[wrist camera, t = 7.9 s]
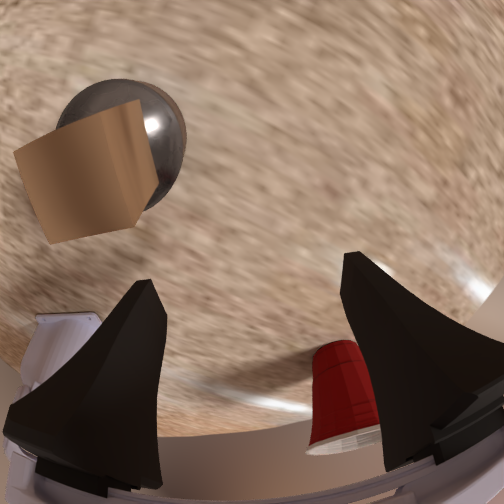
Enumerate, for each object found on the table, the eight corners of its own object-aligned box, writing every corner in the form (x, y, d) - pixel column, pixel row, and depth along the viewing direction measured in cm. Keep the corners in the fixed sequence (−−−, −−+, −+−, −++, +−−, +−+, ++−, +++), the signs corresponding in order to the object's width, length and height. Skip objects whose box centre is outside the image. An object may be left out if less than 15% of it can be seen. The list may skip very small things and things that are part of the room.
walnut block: (87, 199, 15) (49, 244, 11) (64, 125, 12) (13, 151, 8) (159, 182, 15) (134, 227, 11) (139, 98, 12) (99, 112, 8)
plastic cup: (273, 372, 32) (284, 464, 22) (325, 317, 27) (358, 429, 17) (340, 380, 35) (359, 456, 26) (393, 334, 30) (428, 419, 20)
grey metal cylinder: (94, 206, 19) (78, 226, 16) (64, 101, 14) (40, 108, 11) (200, 184, 19) (196, 203, 16) (178, 62, 14) (168, 60, 11)
